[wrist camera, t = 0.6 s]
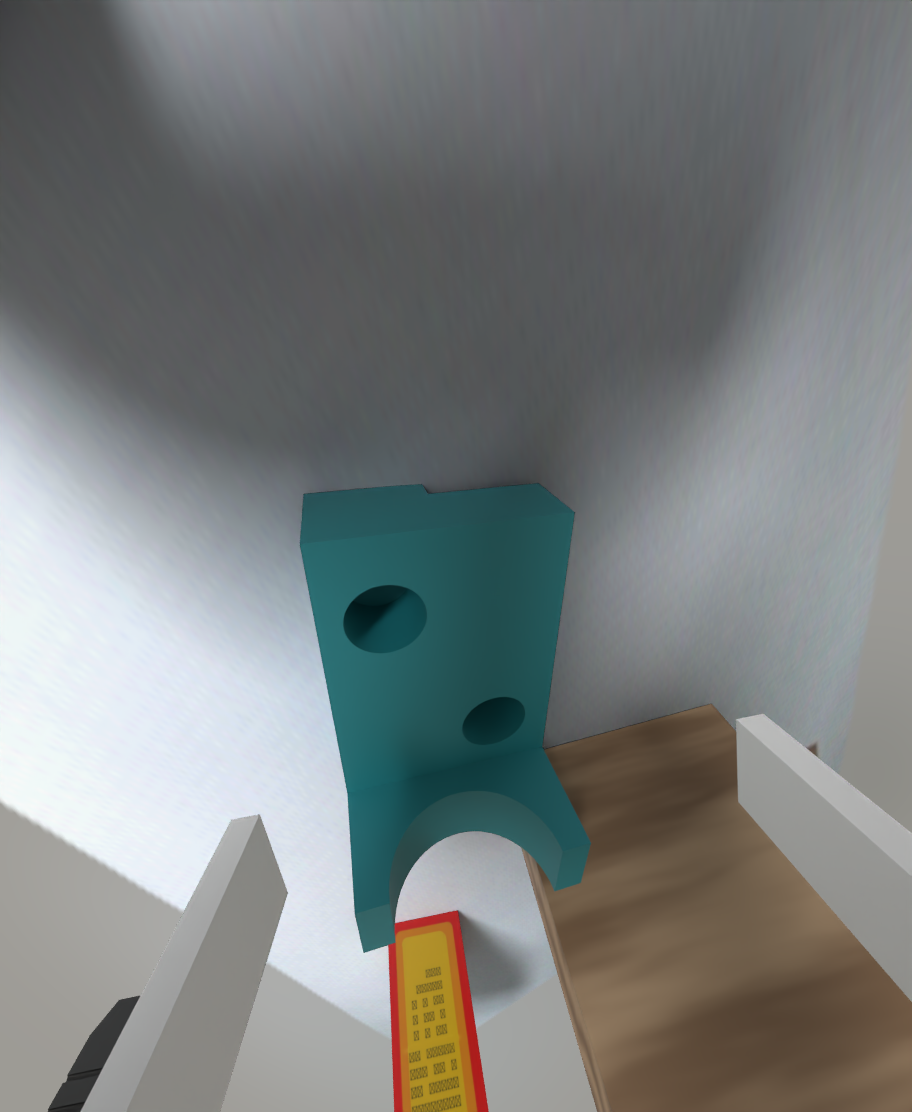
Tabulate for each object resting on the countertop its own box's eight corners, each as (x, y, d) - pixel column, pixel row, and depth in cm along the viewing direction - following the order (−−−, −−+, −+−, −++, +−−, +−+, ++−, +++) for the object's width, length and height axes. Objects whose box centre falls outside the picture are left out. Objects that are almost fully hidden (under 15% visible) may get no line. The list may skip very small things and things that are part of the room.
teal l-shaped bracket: (507, 721, 31) (580, 882, 23) (349, 756, 29) (363, 953, 20) (526, 473, 23) (658, 580, 14) (303, 494, 20) (292, 638, 11)
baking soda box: (387, 924, 41) (398, 1236, 27) (457, 910, 42) (502, 1204, 28) (394, 969, 46) (406, 1254, 32) (457, 955, 47) (495, 1226, 33)
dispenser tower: (476, 759, 32) (948, 2700, 6) (725, 691, 33) (2007, 2061, 7) (500, 859, 39) (765, 1948, 13) (705, 799, 40) (1317, 1690, 14)
